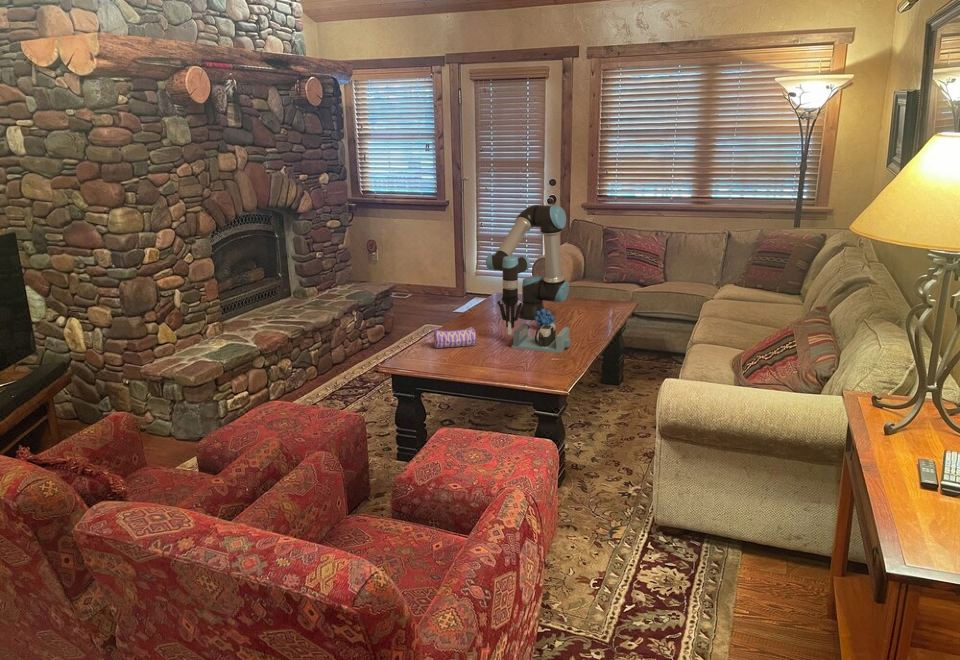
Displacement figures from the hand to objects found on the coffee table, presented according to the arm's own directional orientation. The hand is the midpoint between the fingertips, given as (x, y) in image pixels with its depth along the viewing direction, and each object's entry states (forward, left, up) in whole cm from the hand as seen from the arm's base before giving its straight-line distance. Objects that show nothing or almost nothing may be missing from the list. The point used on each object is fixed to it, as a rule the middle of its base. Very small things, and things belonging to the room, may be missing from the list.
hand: (510, 333), depth 353 cm
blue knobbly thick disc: (-26, +11, -5) cm, 29 cm away
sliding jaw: (-3, +6, -3) cm, 7 cm away
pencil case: (+13, -24, -5) cm, 28 cm away
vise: (0, +16, -5) cm, 17 cm away
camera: (-1, +18, -4) cm, 18 cm away
